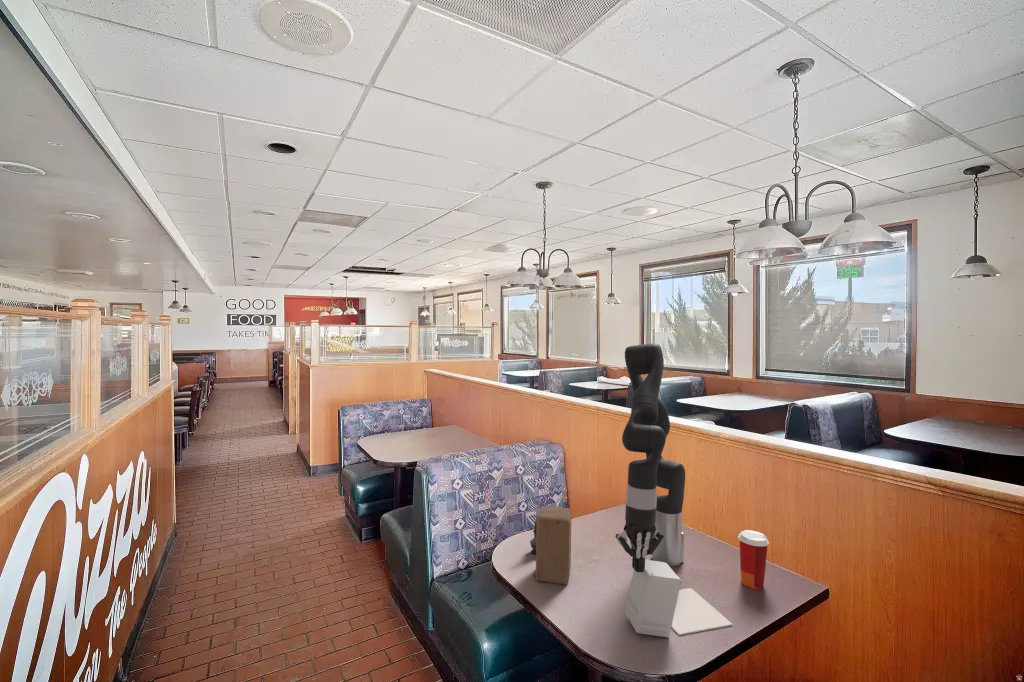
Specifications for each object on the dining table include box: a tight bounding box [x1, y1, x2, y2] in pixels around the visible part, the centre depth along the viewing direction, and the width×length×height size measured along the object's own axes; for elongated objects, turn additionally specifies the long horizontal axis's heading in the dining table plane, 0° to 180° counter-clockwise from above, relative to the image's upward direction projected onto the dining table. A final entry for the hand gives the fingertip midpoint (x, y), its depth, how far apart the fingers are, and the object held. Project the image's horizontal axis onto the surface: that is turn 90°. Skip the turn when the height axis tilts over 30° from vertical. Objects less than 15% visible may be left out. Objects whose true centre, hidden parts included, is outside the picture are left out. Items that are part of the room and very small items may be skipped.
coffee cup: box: [737, 529, 770, 590], centre depth 139 cm, size 8×8×15 cm
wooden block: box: [535, 505, 573, 585], centre depth 143 cm, size 10×10×20 cm
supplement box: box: [624, 558, 682, 638], centre depth 119 cm, size 9×9×15 cm
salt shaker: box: [529, 520, 537, 557], centre depth 157 cm, size 6×6×12 cm
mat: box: [671, 587, 733, 636], centre depth 126 cm, size 16×17×1 cm
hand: (638, 570), depth 117 cm, fingers closed
